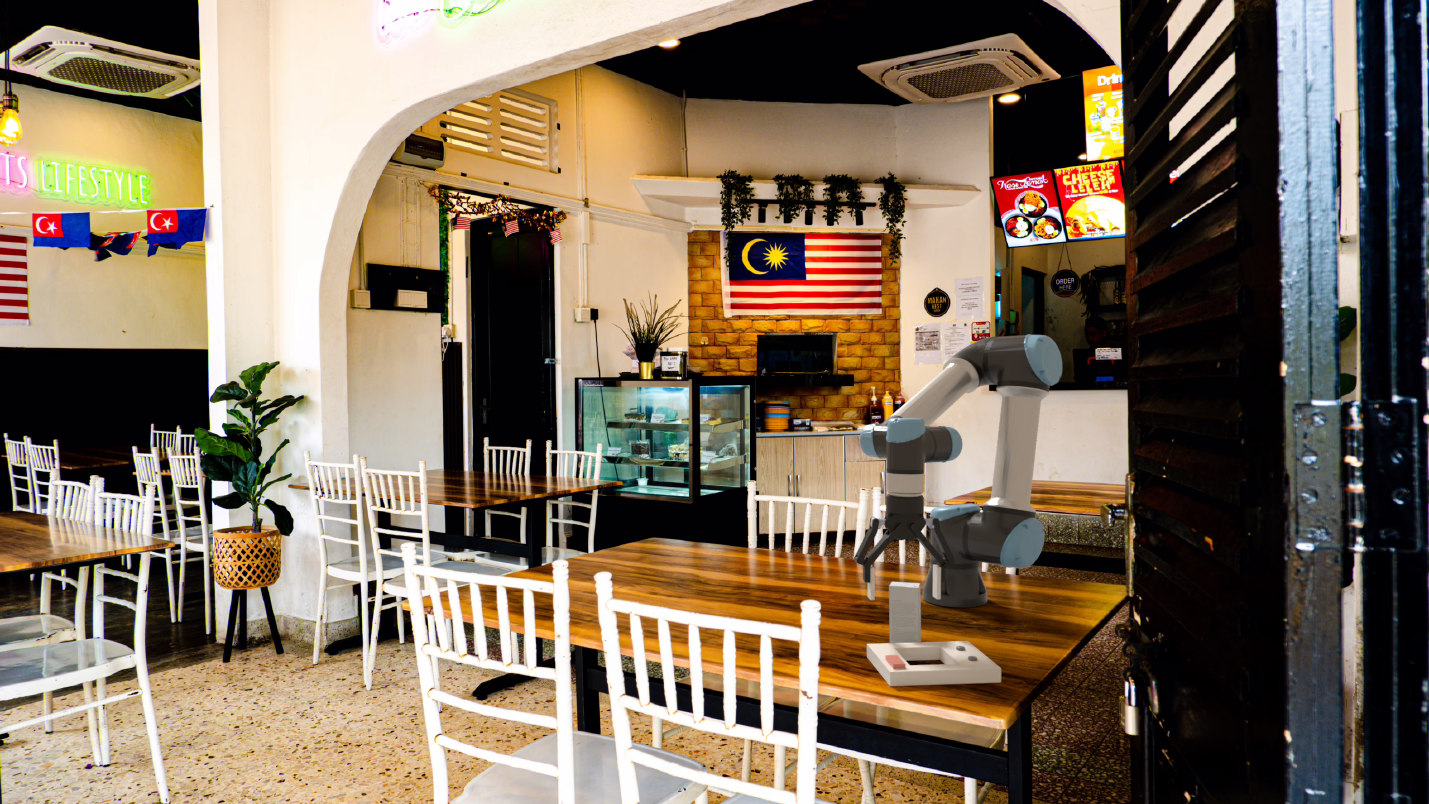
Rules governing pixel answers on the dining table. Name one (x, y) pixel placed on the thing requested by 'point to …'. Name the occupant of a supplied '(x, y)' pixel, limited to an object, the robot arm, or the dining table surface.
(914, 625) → the skincare box
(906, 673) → the socket plate
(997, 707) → the dining table surface
